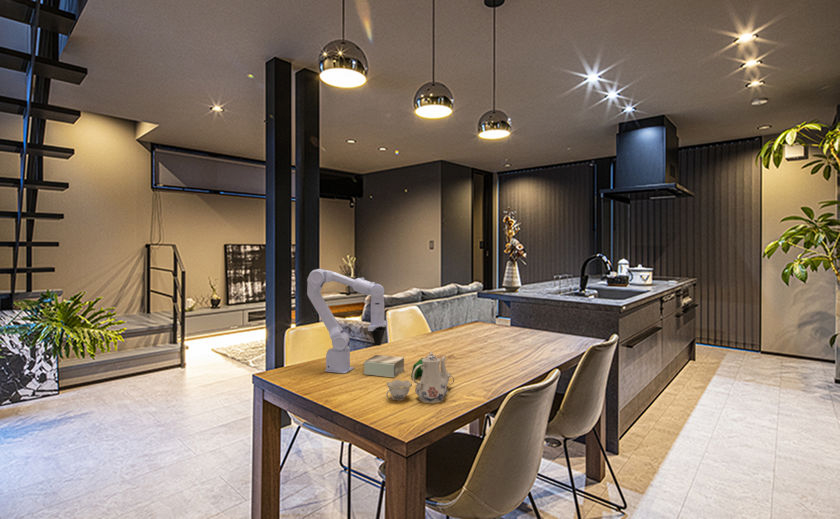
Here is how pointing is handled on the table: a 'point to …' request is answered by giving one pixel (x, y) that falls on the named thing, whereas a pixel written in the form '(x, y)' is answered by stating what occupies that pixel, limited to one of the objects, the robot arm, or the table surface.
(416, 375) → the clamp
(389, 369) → the door
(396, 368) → the cabinet
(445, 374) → the chinaware
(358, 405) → the table surface
